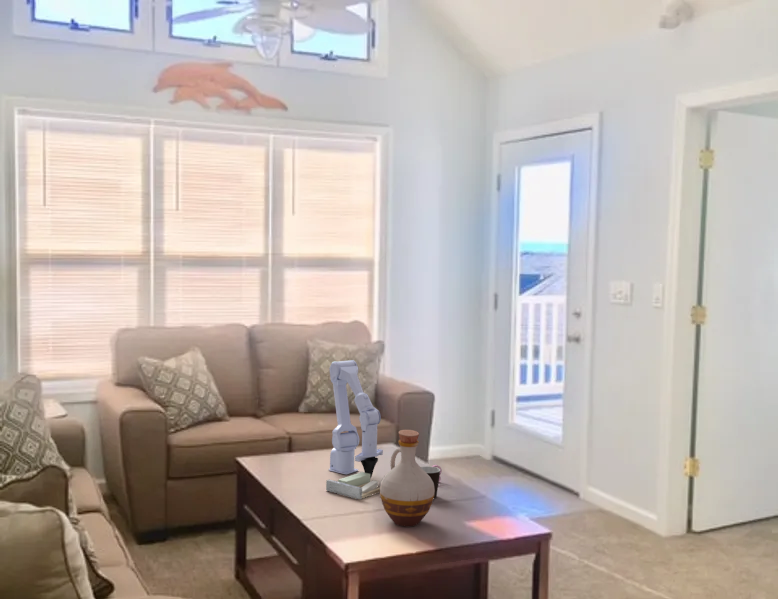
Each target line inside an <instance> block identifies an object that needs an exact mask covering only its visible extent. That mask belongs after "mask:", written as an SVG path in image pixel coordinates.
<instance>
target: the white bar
mask: <svg viewBox="0 0 778 599" xmlns="http://www.w3.org/2000/svg"><path fill="white" fill-rule="evenodd" d="M377 486H378V487H379V480H370V482H369V483H368V484H366V485H364V486H363V487H361V488H362V494H363V493H366V492H369V491H372V490H373V489H374V488H375V489H377V488H378V487H377ZM376 487H377V488H376Z"/></svg>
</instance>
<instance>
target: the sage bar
mask: <svg viewBox="0 0 778 599" xmlns="http://www.w3.org/2000/svg"><path fill="white" fill-rule="evenodd" d="M337 482H341V483H345V484H349V485H353V486H359V485H362V484H365V483H368V482H371V477H370V474H369V473H365V471H360V472H358V473H354V474H350V475H348V476H346V477H343V478H339V479H338V480H337Z"/></svg>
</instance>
